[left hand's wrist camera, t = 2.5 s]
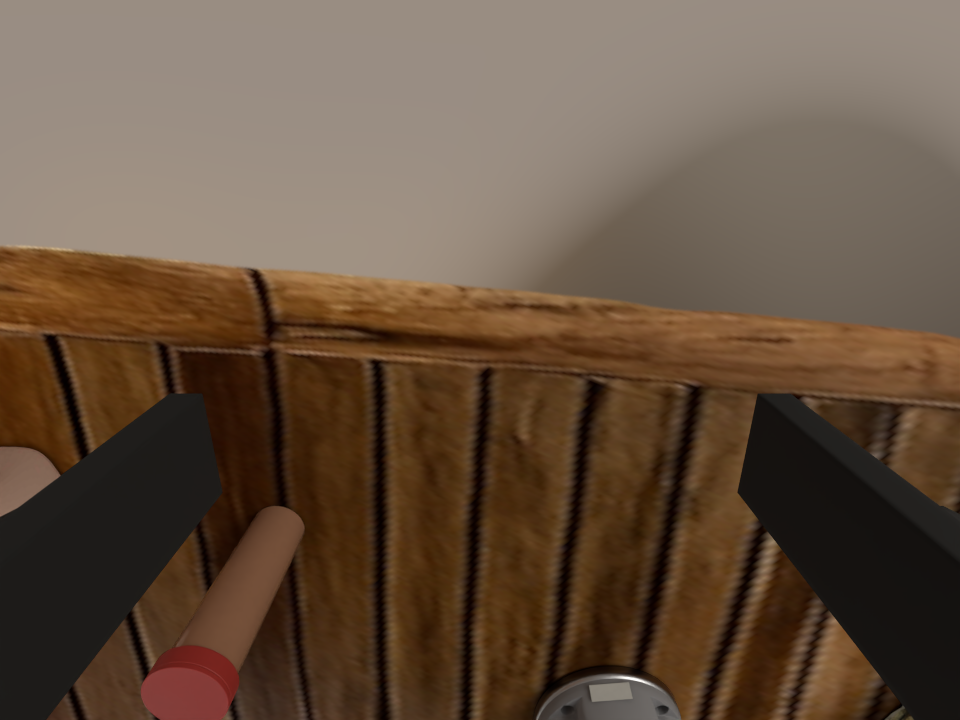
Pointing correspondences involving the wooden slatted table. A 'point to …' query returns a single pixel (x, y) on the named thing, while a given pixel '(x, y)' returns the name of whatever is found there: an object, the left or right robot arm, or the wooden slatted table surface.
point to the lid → (190, 684)
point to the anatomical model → (22, 476)
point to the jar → (245, 586)
